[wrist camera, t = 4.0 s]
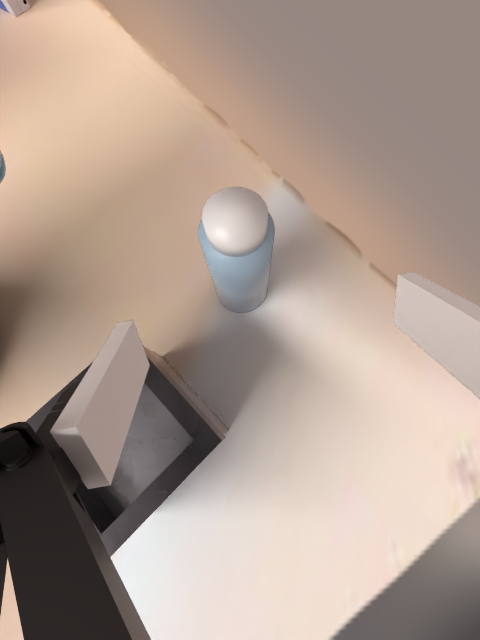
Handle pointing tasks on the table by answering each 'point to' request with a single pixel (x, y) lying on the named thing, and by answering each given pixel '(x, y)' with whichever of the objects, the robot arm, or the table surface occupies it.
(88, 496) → the square planter pot
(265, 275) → the white-capped blue bottle
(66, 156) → the table surface
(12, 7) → the walkman
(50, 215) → the table surface
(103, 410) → the robot arm
